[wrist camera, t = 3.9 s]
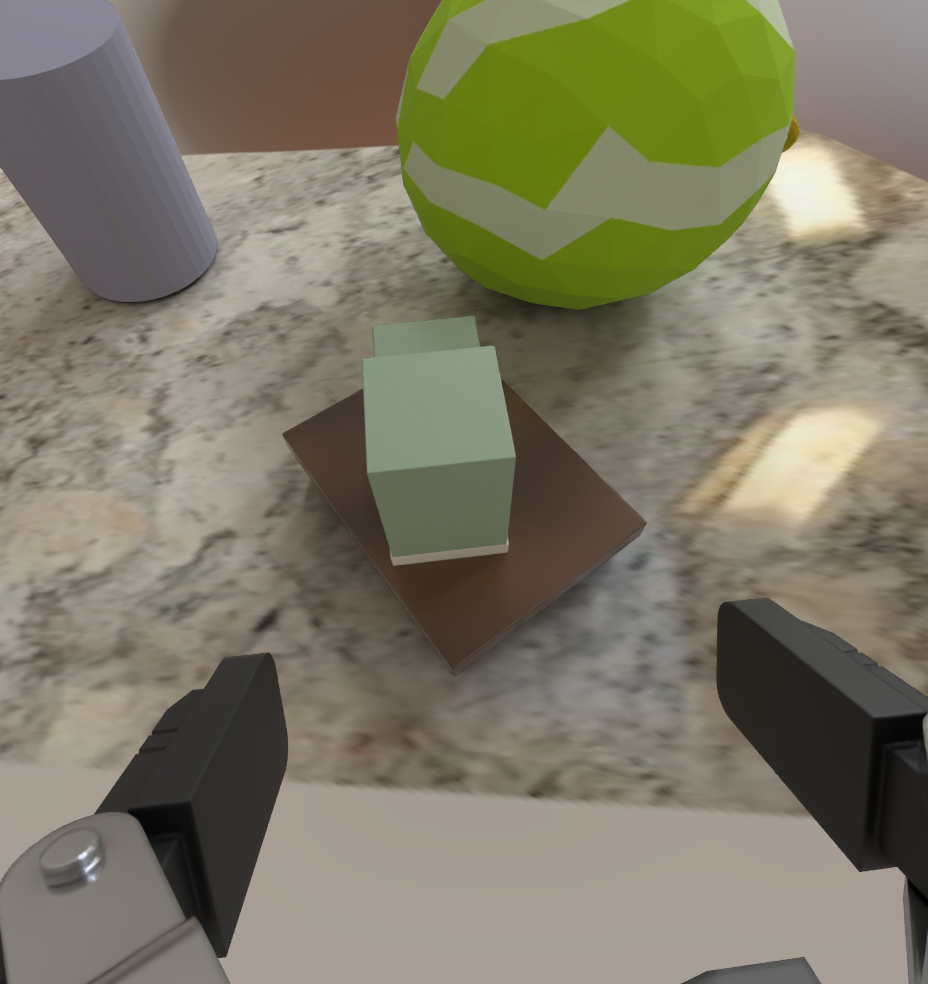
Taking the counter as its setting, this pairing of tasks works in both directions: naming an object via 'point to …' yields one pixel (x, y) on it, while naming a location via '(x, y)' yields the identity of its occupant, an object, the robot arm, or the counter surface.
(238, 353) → the counter surface
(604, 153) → the melon
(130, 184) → the container
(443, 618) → the shoe shelf
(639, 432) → the counter surface
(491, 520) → the sage green stepped block
